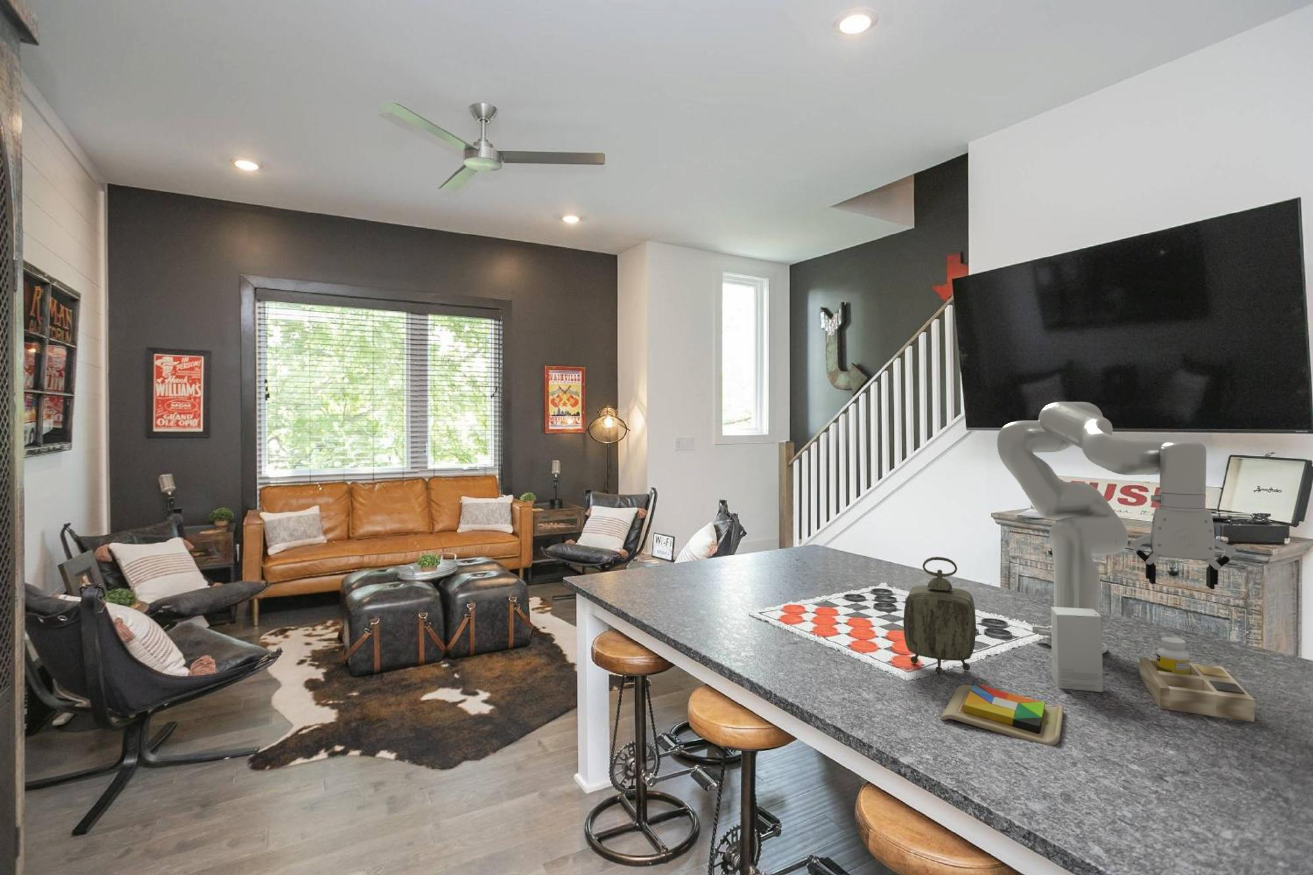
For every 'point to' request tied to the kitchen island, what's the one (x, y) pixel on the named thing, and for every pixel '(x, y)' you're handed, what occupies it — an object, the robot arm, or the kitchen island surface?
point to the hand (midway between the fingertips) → (1180, 585)
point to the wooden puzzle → (1005, 713)
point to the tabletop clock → (940, 620)
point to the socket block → (1198, 691)
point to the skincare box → (1077, 649)
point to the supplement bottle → (1173, 656)
